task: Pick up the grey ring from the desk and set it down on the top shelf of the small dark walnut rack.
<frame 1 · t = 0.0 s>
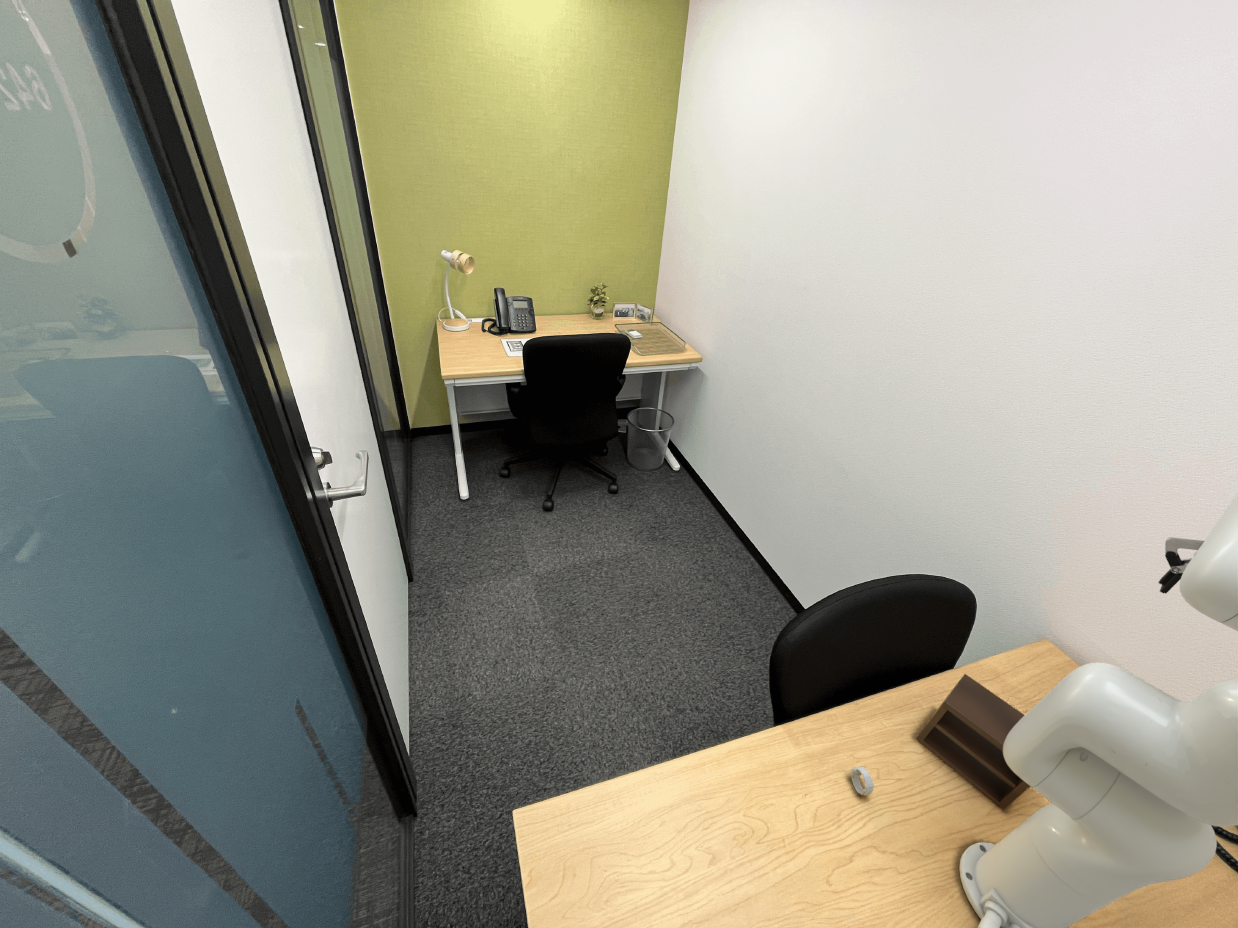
hand: (1203, 608, 78), 31 cm above the table, tool pointing down, fingers open, 9 cm apart
grey ring: (856, 786, 81), on the table
rack: (967, 756, 86), on the table
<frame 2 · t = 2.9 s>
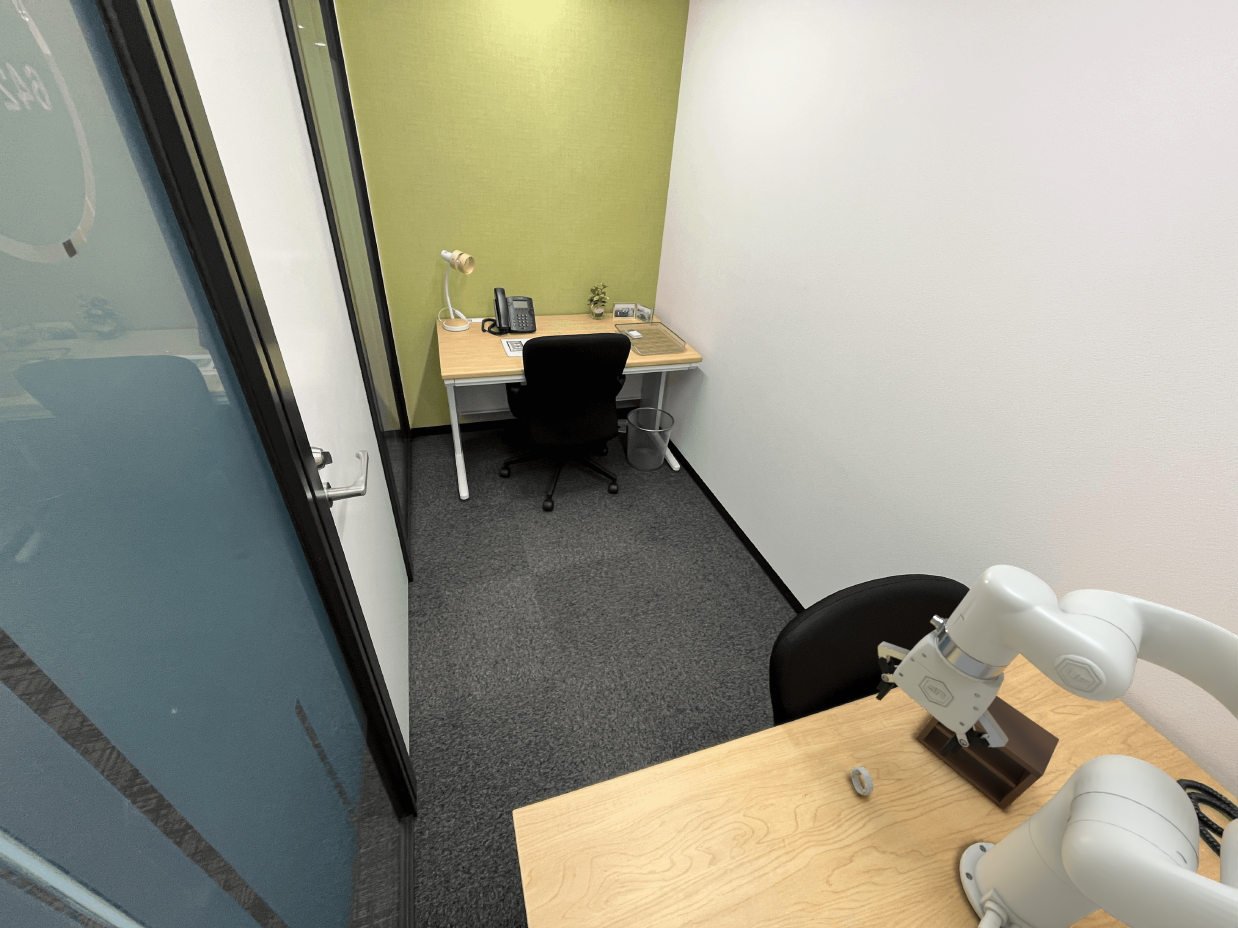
hand: (912, 720, 72), 17 cm above the table, tool pointing down, fingers open, 9 cm apart
nothing on the table moved.
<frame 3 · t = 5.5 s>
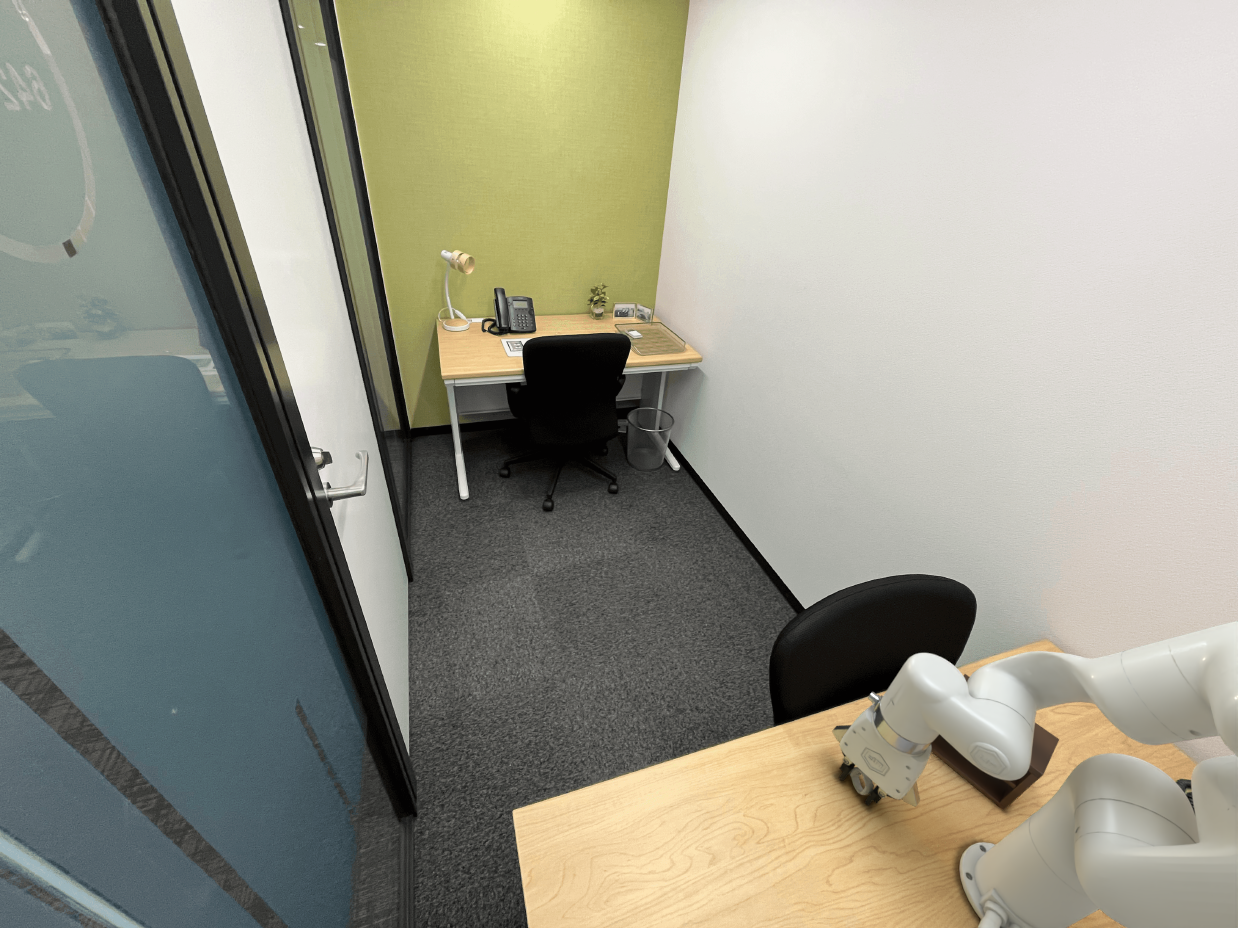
hand: (857, 785, 80), 0 cm above the table, tool pointing down, fingers closed on grey ring, 3 cm apart
grey ring: (856, 786, 81), on the table, touching gripper
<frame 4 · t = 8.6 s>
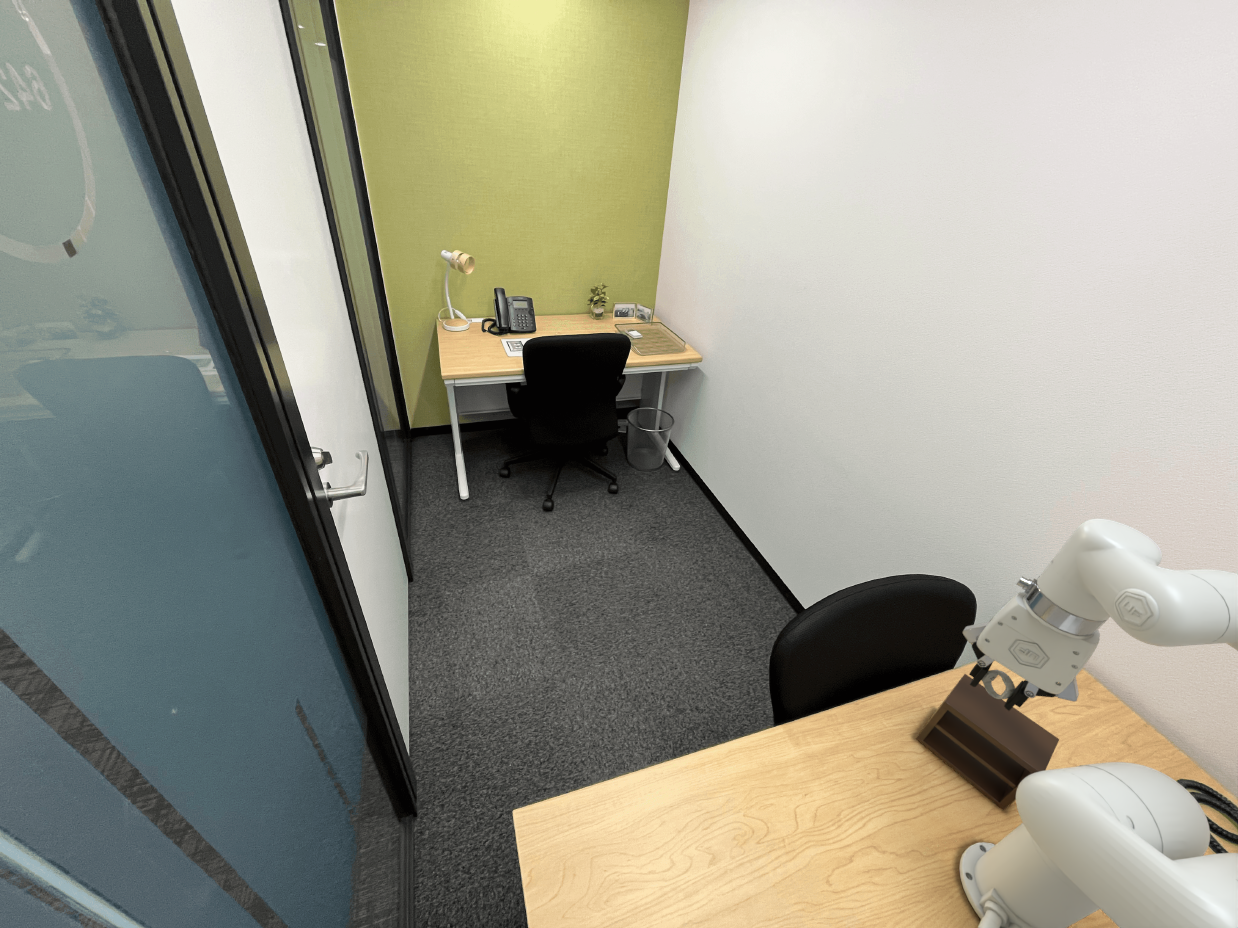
hand: (992, 691, 72), 22 cm above the table, tool pointing down, fingers closed on grey ring, 3 cm apart
grey ring: (990, 692, 73), point 22 cm above the table, touching gripper
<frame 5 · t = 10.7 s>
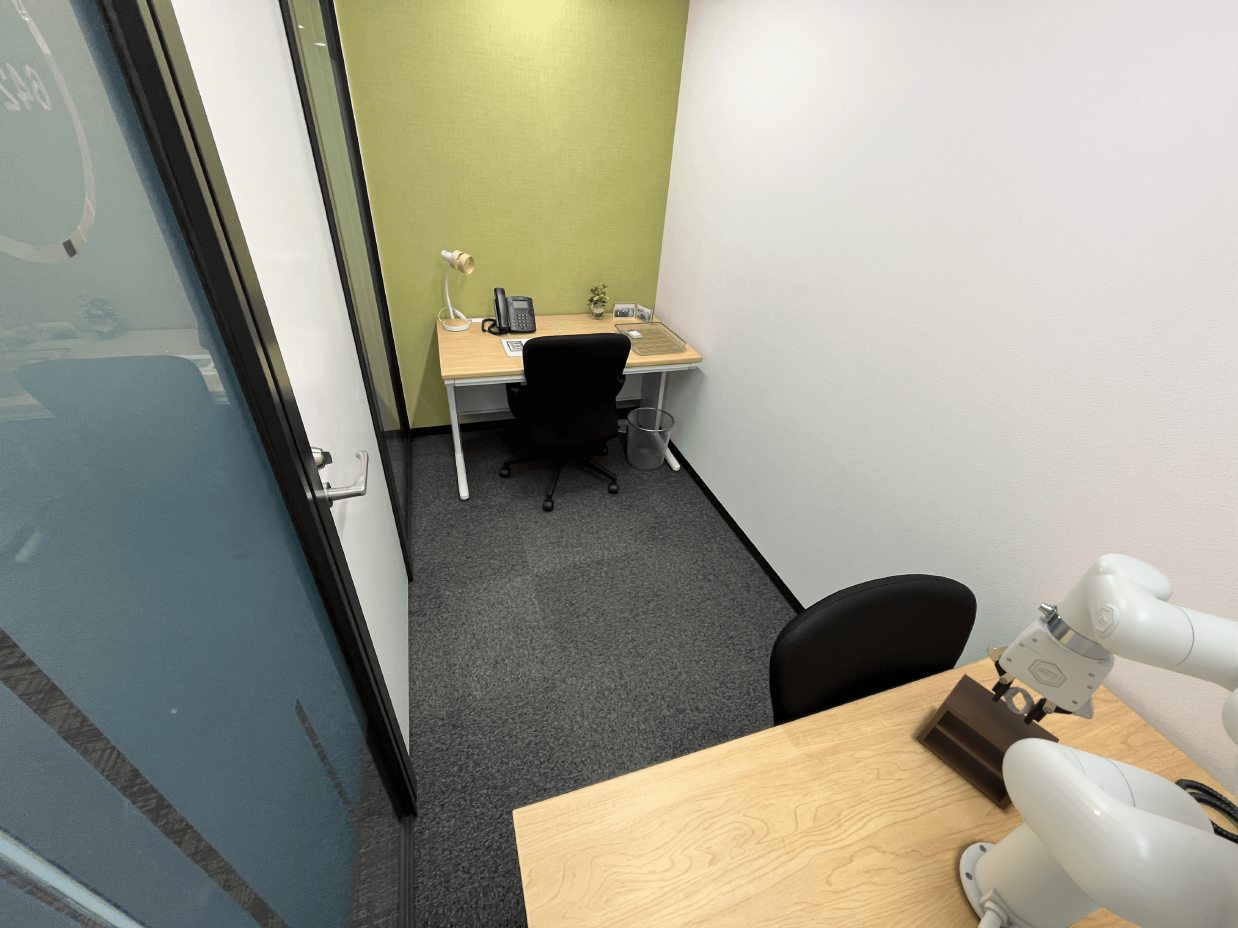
hand: (1012, 706, 78), 15 cm above the table, tool pointing down, fingers closed on grey ring, 3 cm apart
grey ring: (1010, 707, 78), point 15 cm above the table, touching gripper
when the fingers open (12 cm above the table, at t = 11.9 s): grey ring stays where it is, resting on rack.
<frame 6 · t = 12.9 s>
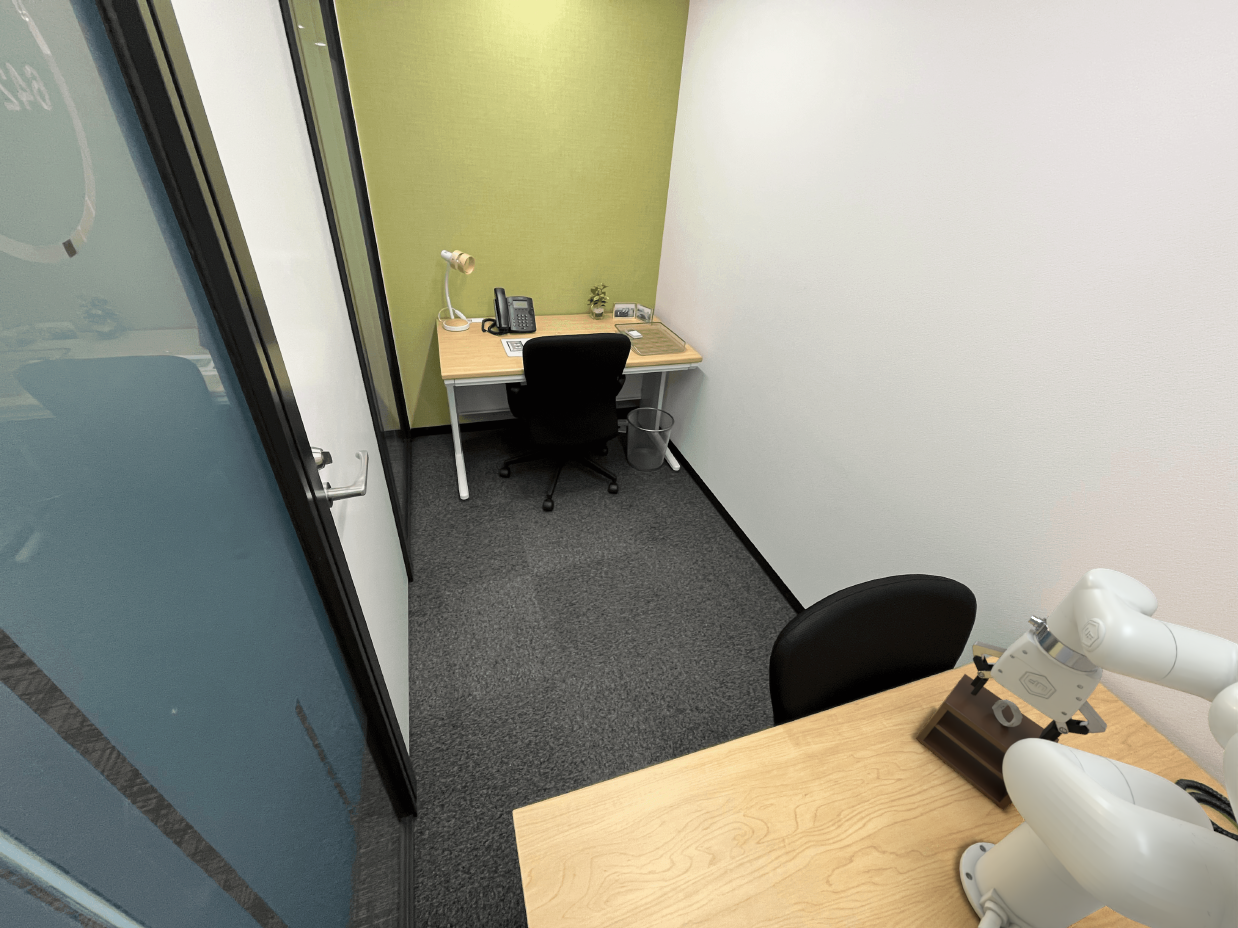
hand: (1007, 713, 79), 14 cm above the table, tool pointing down, fingers open, 9 cm apart
grey ring: (999, 720, 80), point 11 cm above the table, touching rack
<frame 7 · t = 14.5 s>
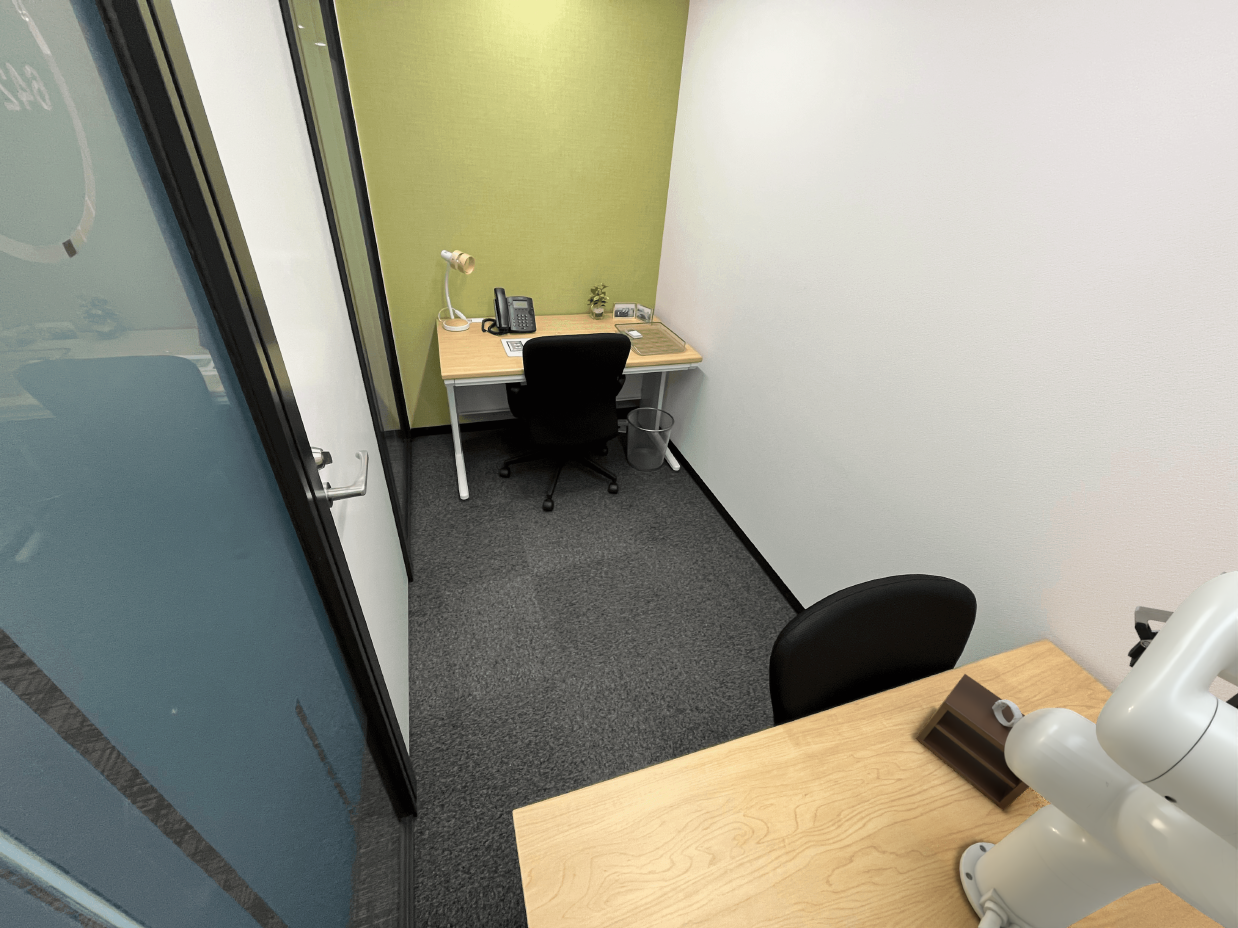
hand: (1177, 686, 69), 28 cm above the table, tool pointing down, fingers open, 9 cm apart
nothing on the table moved.
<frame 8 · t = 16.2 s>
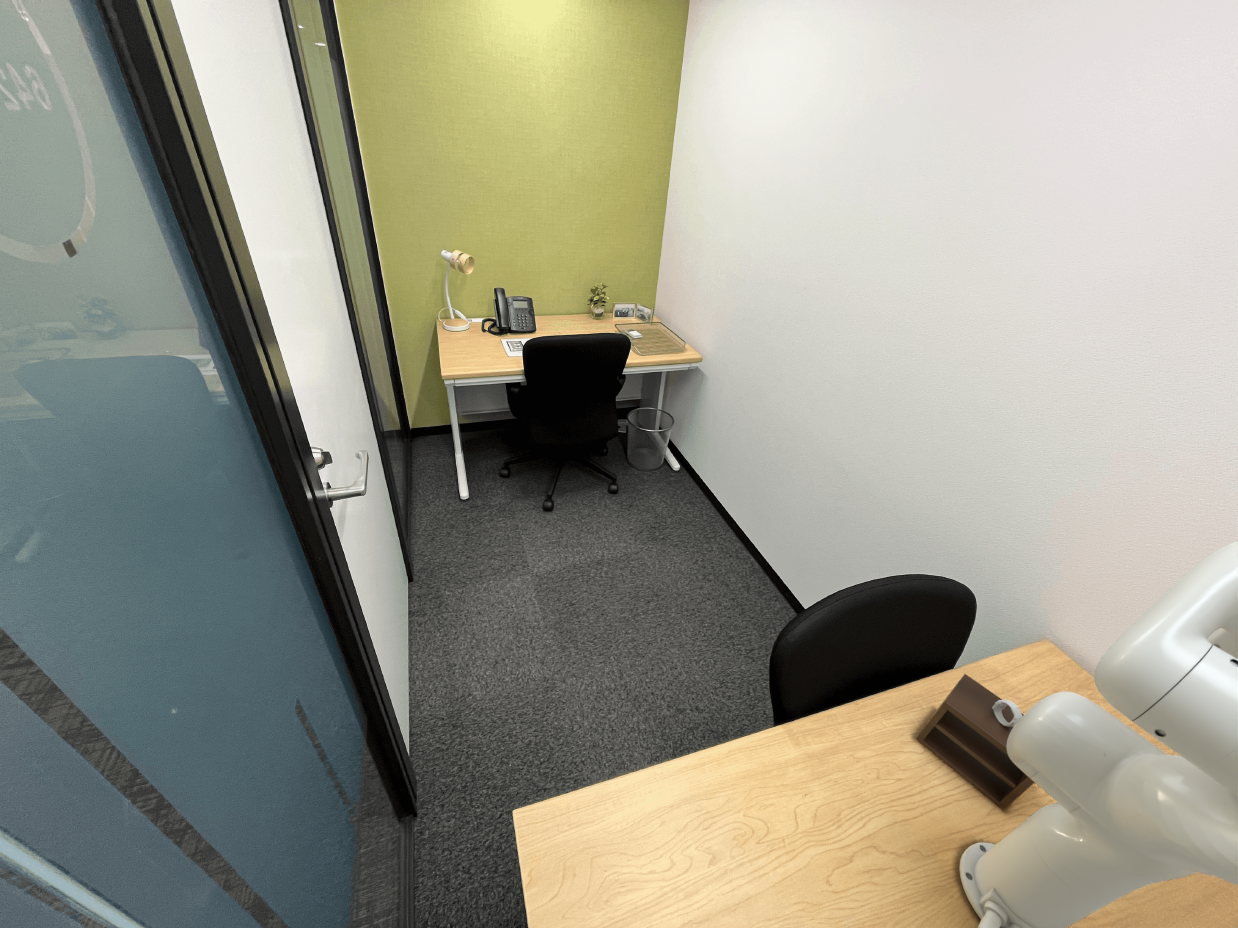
hand: (1214, 696, 68), 28 cm above the table, tool pointing down, fingers open, 9 cm apart
nothing on the table moved.
at the end: grey ring inside the target area on the rack (0.1 cm from its centre), point 11.4 cm above the rack's base; the gripper is holding nothing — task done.
